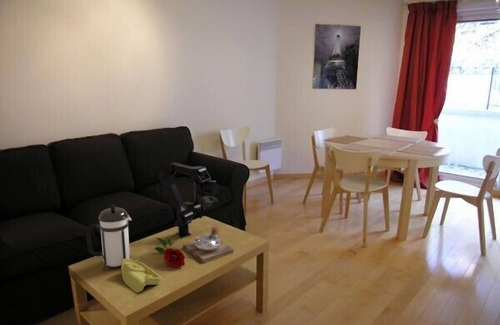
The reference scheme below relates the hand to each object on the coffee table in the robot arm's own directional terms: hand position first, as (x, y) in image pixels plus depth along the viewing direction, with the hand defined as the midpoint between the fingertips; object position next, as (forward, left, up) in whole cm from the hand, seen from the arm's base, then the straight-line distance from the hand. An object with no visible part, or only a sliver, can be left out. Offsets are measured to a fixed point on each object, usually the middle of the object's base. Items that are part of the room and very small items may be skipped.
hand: (200, 218), depth 202 cm
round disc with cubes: (+10, -1, -11) cm, 15 cm away
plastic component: (+17, -42, -14) cm, 48 cm away
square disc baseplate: (+12, -3, -13) cm, 18 cm away
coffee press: (-3, -46, -13) cm, 48 cm away
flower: (+6, -23, -13) cm, 27 cm away
